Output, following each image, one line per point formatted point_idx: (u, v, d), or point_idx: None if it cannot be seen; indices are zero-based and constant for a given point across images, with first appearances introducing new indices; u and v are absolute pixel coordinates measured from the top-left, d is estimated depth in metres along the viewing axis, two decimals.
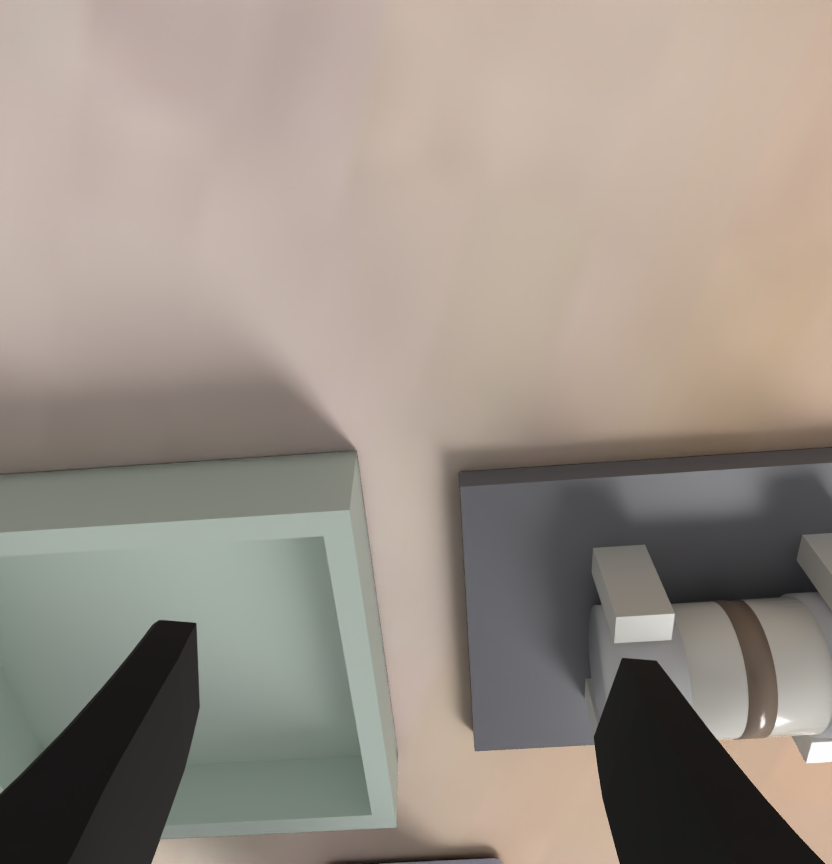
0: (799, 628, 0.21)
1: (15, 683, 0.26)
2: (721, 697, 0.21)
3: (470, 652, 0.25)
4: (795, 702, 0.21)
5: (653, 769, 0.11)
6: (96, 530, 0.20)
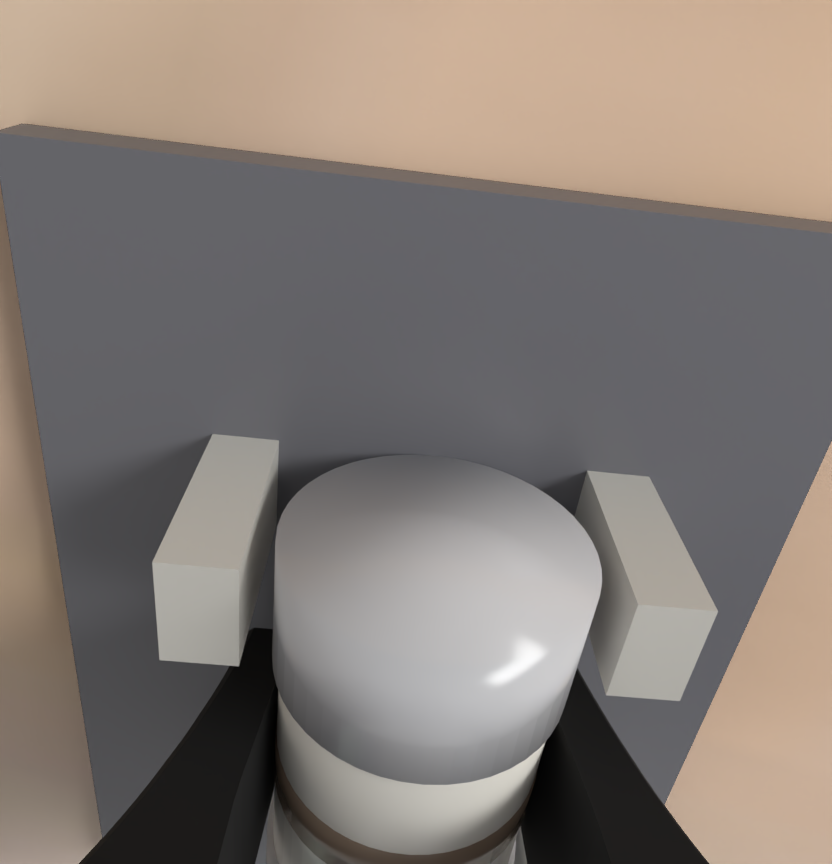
0: (280, 699, 0.10)
1: None
2: None
3: None
4: (371, 825, 0.09)
5: (552, 762, 0.11)
6: None
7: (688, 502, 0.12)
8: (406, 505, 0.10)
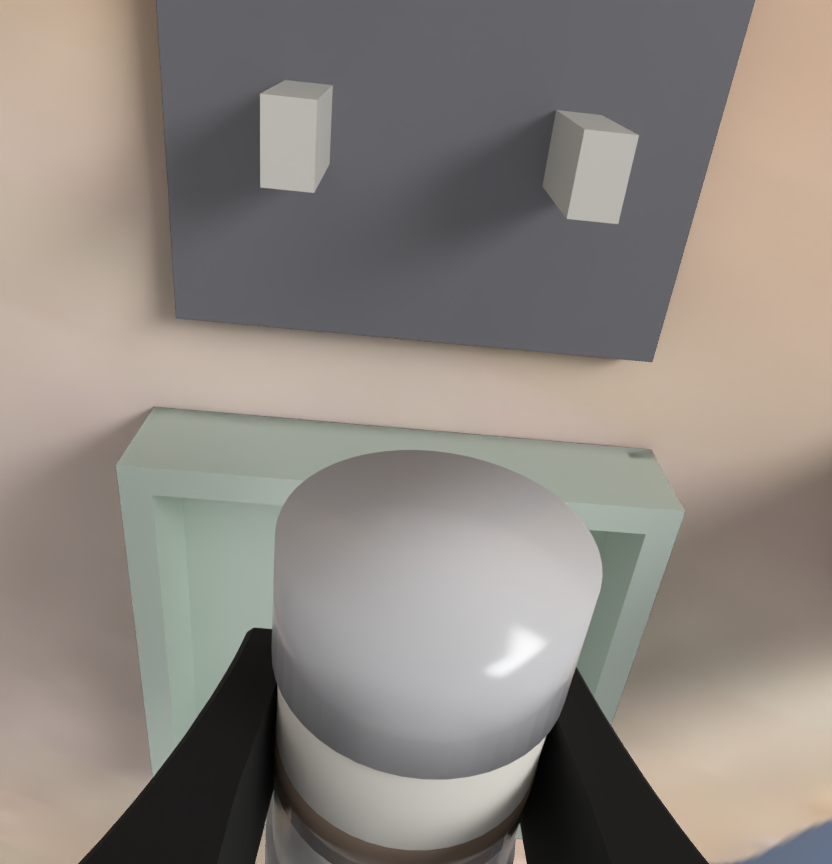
0: (279, 694, 0.10)
1: None
2: None
3: (451, 342, 0.19)
4: (371, 819, 0.09)
5: (551, 762, 0.11)
6: (145, 666, 0.21)
7: None
8: (406, 500, 0.10)
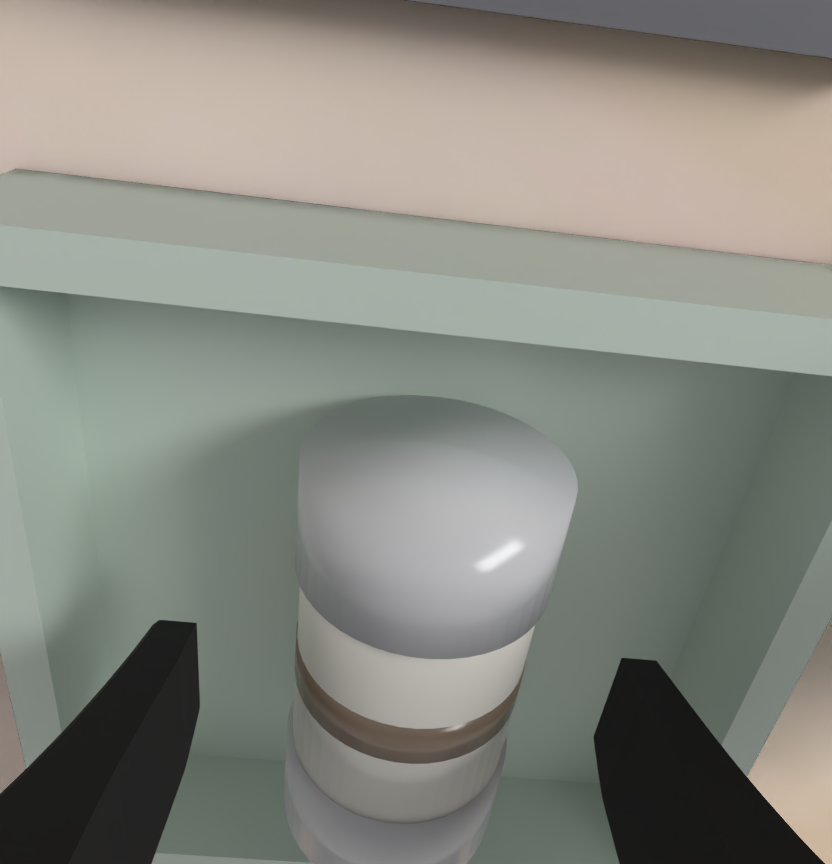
0: (301, 603, 0.12)
1: None
2: (357, 781, 0.12)
3: (550, 16, 0.10)
4: (383, 701, 0.11)
5: (654, 770, 0.11)
6: (4, 623, 0.12)
7: None
8: (409, 433, 0.12)
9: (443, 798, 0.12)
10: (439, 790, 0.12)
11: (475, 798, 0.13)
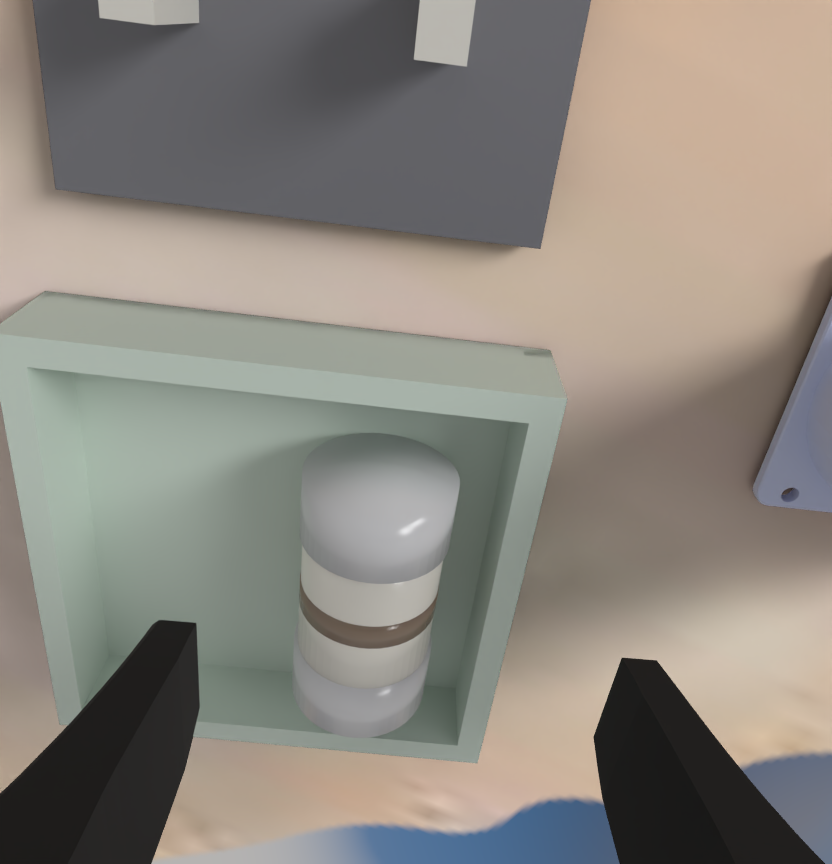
0: (366, 597, 0.19)
1: None
2: (415, 652, 0.21)
3: (334, 222, 0.18)
4: (429, 595, 0.20)
5: (654, 770, 0.11)
6: (34, 556, 0.21)
7: None
8: (351, 474, 0.19)
9: None
10: None
11: None
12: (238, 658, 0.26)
